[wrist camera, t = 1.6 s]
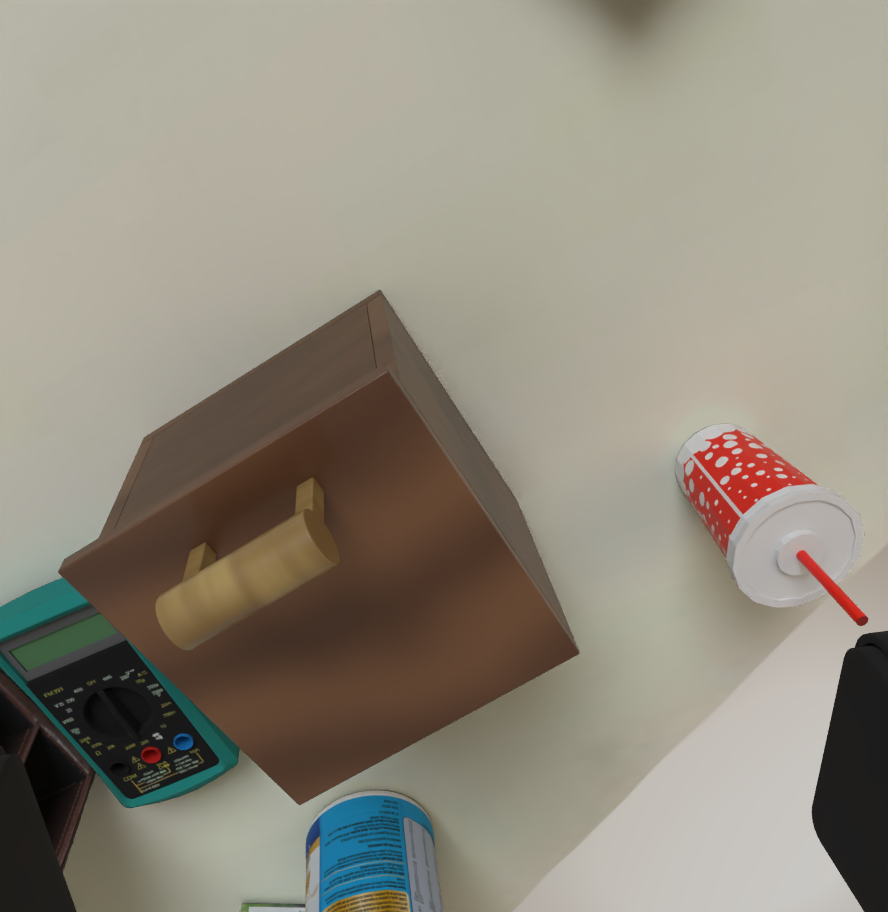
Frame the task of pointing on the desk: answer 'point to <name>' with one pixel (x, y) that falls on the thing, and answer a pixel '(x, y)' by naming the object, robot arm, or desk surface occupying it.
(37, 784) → the letter holder
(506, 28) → the desk surface
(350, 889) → the beverage bottle
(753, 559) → the beverage cup
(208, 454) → the bin
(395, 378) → the lid
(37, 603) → the digital multimeter
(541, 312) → the desk surface
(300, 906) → the syrup box
